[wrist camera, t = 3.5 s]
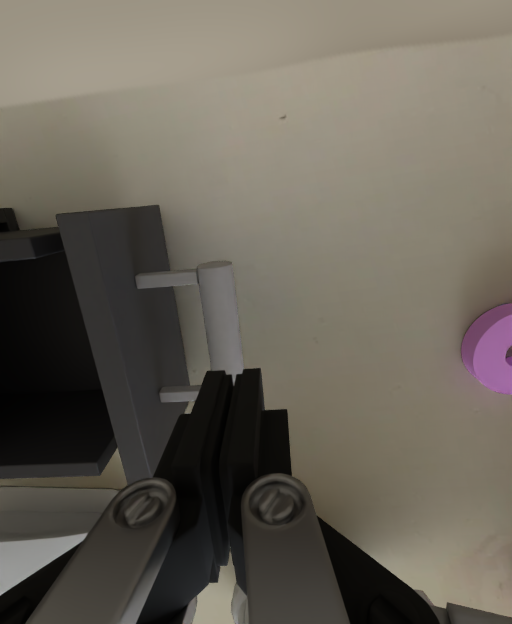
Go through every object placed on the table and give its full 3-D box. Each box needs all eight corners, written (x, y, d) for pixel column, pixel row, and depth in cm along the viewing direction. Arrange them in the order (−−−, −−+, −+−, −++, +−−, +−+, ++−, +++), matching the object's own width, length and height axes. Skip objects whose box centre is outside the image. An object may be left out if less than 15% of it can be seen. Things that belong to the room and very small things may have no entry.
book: (33, 656, 35) (5, 710, 32) (-33, 485, 28) (-80, 529, 24) (178, 663, 35) (166, 719, 31) (149, 489, 27) (130, 536, 23)
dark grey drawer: (236, 197, 19) (213, 199, 11) (256, 392, 23) (248, 487, 15) (-80, 226, 20) (-283, 245, 13) (-9, 405, 24) (-133, 498, 17)
